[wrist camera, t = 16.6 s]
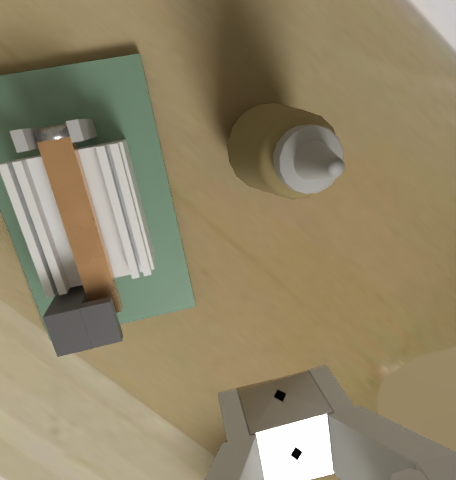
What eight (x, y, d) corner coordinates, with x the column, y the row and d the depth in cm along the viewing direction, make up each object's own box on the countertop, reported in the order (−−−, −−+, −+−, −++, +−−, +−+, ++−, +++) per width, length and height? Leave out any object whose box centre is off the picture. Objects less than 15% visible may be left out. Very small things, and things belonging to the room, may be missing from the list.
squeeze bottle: (287, 93, 38) (388, 74, 21) (304, 170, 41) (406, 208, 24) (211, 118, 37) (252, 119, 21) (234, 194, 40) (287, 250, 23)
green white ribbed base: (-43, 84, 33) (-98, 75, 26) (140, 55, 35) (134, 39, 28) (52, 335, 42) (30, 380, 35) (195, 302, 43) (201, 338, 36)
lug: (64, 279, 39) (42, 317, 32) (119, 267, 40) (109, 302, 32) (76, 313, 40) (57, 356, 33) (128, 301, 41) (121, 341, 34)
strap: (37, 128, 31) (32, 128, 29) (70, 122, 31) (66, 122, 30) (95, 311, 36) (93, 318, 35) (122, 305, 36) (121, 312, 35)
